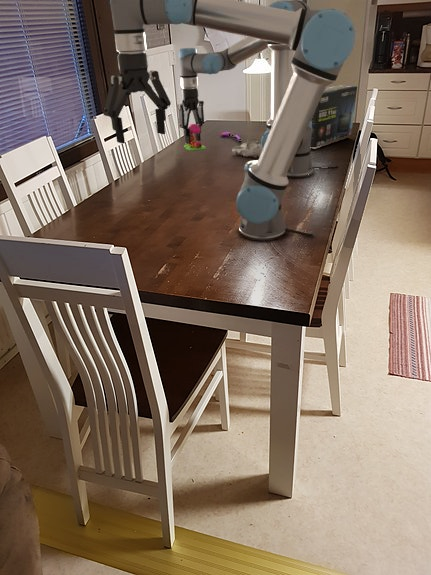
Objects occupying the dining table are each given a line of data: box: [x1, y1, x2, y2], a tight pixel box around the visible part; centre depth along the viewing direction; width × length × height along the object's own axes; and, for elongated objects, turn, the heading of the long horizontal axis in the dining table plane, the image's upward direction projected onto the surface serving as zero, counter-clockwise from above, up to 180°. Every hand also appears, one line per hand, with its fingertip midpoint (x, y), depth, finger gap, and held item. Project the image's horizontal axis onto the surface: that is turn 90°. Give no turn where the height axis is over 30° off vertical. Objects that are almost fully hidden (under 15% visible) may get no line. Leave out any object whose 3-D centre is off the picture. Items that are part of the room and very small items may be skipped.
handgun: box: [221, 131, 243, 143], centre depth 259 cm, size 21×8×2 cm, turn 11°
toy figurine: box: [183, 123, 206, 152], centre depth 211 cm, size 12×9×11 cm
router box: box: [310, 84, 358, 151], centre depth 238 cm, size 36×11×27 cm, turn 134°
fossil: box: [231, 138, 263, 159], centre depth 230 cm, size 18×11×15 cm
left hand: (141, 138), depth 127 cm, fingers open, 13 cm apart
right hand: (193, 141), depth 212 cm, fingers closed on toy figurine, 5 cm apart
